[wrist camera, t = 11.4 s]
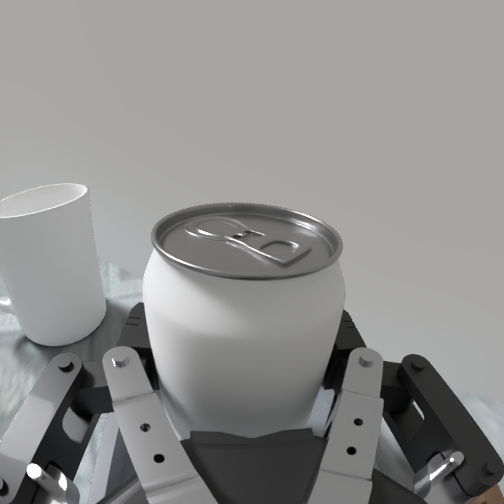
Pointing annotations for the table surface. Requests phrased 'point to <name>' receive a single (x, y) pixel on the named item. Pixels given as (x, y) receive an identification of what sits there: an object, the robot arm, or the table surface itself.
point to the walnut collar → (490, 497)
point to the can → (242, 316)
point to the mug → (51, 263)
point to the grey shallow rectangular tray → (112, 443)
